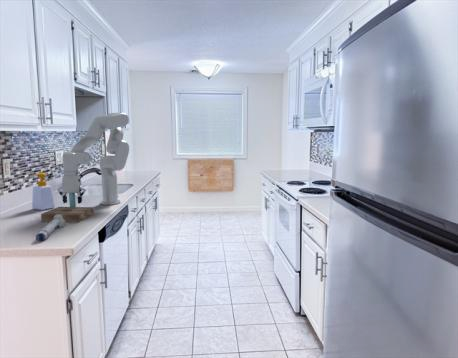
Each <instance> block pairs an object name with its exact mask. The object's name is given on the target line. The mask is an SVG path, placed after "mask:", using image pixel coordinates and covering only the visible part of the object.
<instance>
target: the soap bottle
mask: <svg viewBox="0 0 458 358" xmlns="http://www.w3.org/2000/svg"><path fill="white" fill-rule="evenodd" d="M33 176H37V178H39V180H38V181H37V185H34V186H33V187H32V200H31V201H32V202H31V208H32V209H33V210H39V211H45V210H46V211H47V210H51V209H55V208H56V203H55V199H54V198H55V197H54V192H53V187H52V186H51V185H48V184H47V180H44V178H46V176H47V173H45V172H39V173H35V174H31V175H28V176H27V175H26V177H27V178H30V177H33Z"/></svg>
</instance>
